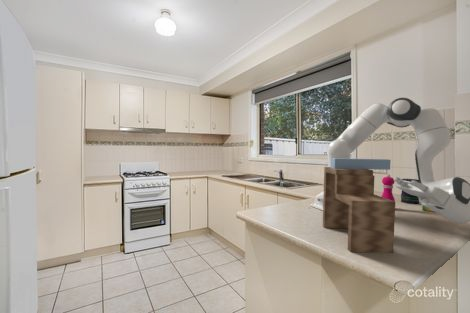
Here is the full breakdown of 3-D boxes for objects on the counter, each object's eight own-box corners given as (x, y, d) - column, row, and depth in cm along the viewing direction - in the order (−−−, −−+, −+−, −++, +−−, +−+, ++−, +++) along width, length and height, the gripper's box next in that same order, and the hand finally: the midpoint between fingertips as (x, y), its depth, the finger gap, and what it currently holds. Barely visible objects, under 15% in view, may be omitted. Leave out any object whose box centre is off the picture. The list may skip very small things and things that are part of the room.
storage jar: (405, 203, 146) (406, 180, 146) (397, 200, 156) (398, 178, 155) (423, 204, 144) (424, 181, 144) (413, 201, 154) (415, 178, 154)
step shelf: (354, 226, 101) (356, 167, 100) (393, 252, 76) (396, 174, 75) (322, 226, 101) (324, 167, 100) (350, 251, 76) (353, 173, 75)
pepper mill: (389, 210, 129) (391, 175, 128) (377, 207, 136) (378, 173, 135) (397, 209, 133) (398, 174, 132) (384, 206, 139) (385, 173, 138)
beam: (383, 168, 96) (384, 159, 96) (390, 169, 92) (390, 159, 92) (330, 167, 96) (330, 158, 96) (334, 168, 92) (334, 158, 92)
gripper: (416, 186, 105) (390, 171, 105) (460, 196, 84) (428, 176, 84) (409, 198, 105) (383, 182, 105) (450, 211, 85) (418, 191, 84)
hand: (403, 180), depth 94 cm, fingers open, 8 cm apart
